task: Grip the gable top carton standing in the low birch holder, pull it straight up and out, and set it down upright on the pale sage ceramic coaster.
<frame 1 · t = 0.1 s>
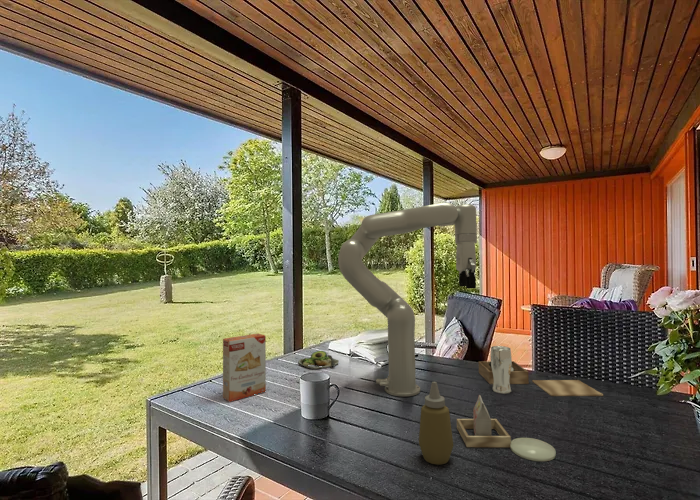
hand: (467, 287, 136), 37 cm above the table, tool pointing down, fingers open, 9 cm apart
display tray: (502, 377, 148), on the table
wooden board: (565, 388, 136), on the table
cracker box: (245, 396, 135), on the table
coaster: (532, 450, 93), on the table
squeeze bottle: (436, 459, 90), on the table
gable top carton: (482, 438, 101), on the table
salad plate: (318, 364, 174), on the table
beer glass: (501, 391, 135), on the table
eagle figurine: (501, 378, 148), on the table
holder: (482, 437, 101), on the table
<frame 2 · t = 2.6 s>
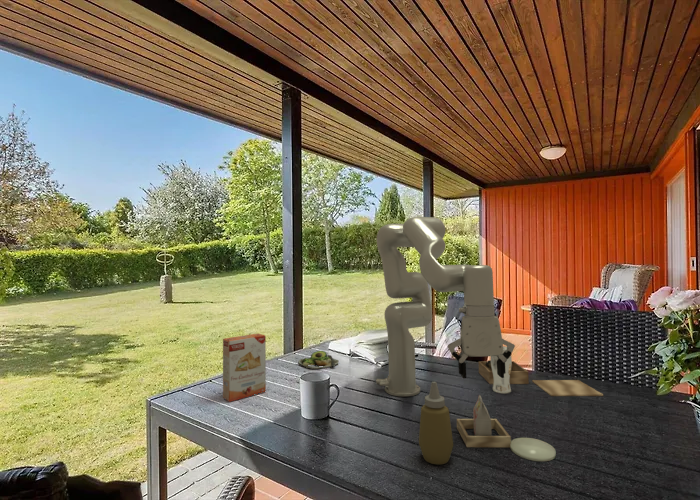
hand: (482, 376, 100), 16 cm above the table, tool pointing down, fingers open, 9 cm apart
eagle figurine: (498, 378, 149), on the table
everything else where it was.
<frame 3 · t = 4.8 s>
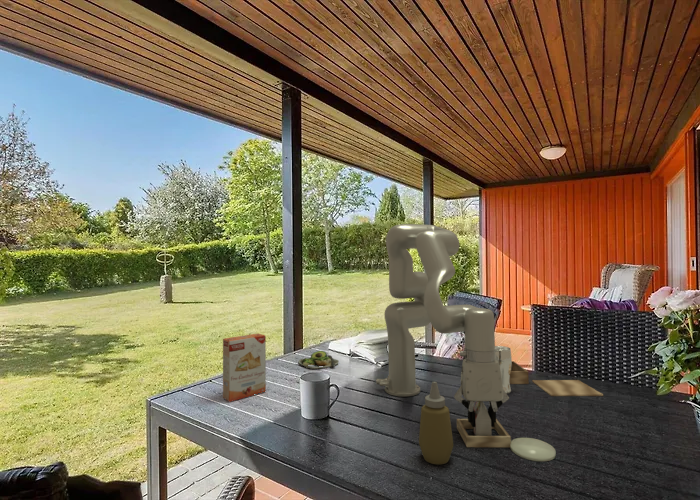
hand: (482, 424, 101), 3 cm above the table, tool pointing down, fingers closed on gable top carton, 4 cm apart
gable top carton: (482, 437, 101), on the table, touching gripper
everything else where it was.
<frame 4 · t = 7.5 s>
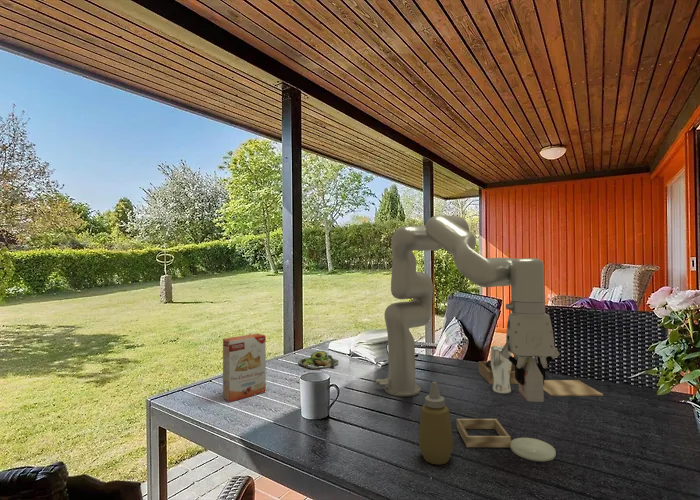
hand: (530, 382, 93), 17 cm above the table, tool pointing down, fingers closed on gable top carton, 4 cm apart
gable top carton: (530, 397, 93), point 13 cm above the table, touching gripper
everything else where it was.
when the fingers open (5 cm above the table, at t = 10.1 s): gable top carton drops 1 cm, resting on coaster.
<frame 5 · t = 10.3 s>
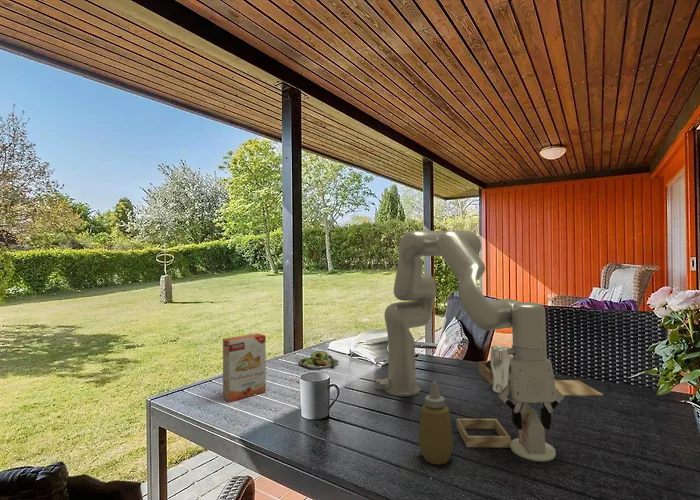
hand: (531, 426, 93), 6 cm above the table, tool pointing down, fingers open, 6 cm apart
gable top carton: (531, 447, 93), point 1 cm above the table, touching coaster
everything else where it was.
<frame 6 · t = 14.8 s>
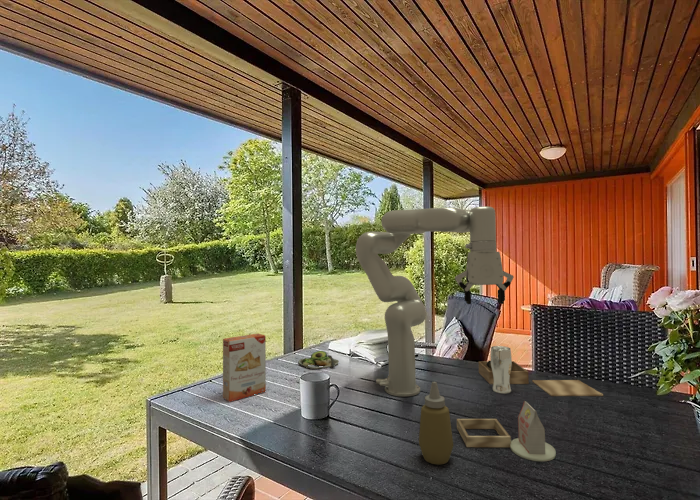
hand: (484, 303, 116), 33 cm above the table, tool pointing down, fingers open, 9 cm apart
nothing on the table moved.
at the end: gable top carton 0.2 cm from the coaster (horizontally); gable top carton tilted 0°; gable top carton point 0.6 cm above the table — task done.
